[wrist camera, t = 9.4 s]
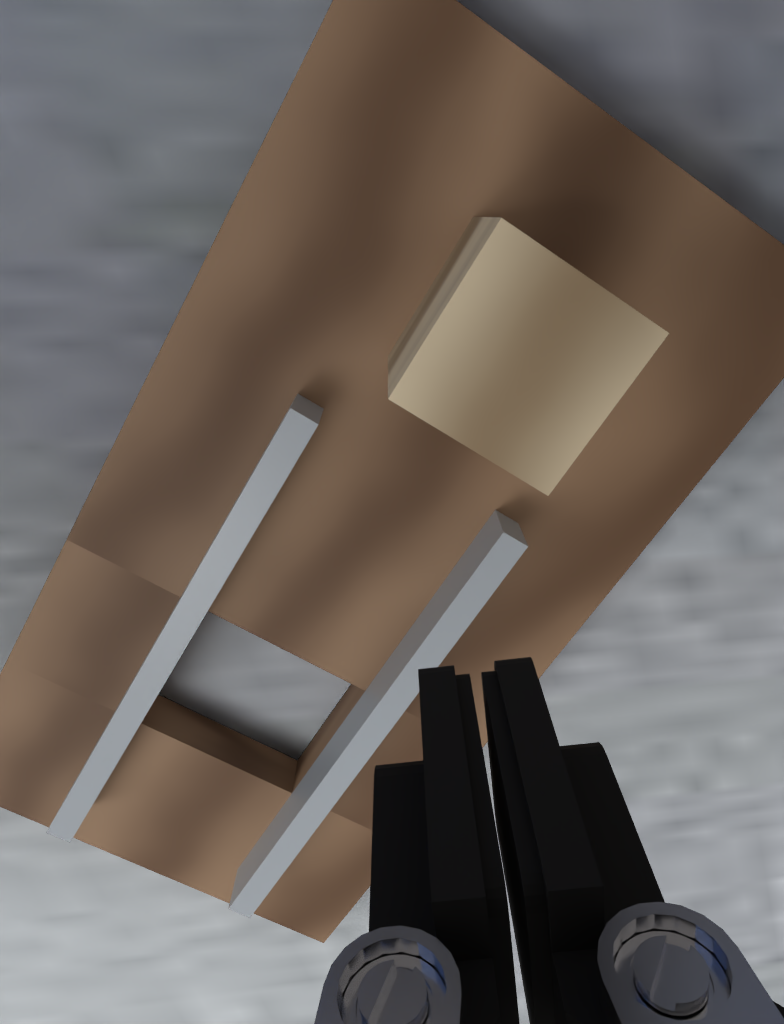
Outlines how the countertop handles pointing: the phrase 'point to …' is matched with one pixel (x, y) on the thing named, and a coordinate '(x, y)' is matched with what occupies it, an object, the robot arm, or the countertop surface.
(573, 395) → the block
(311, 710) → the countertop surface
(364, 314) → the deck
